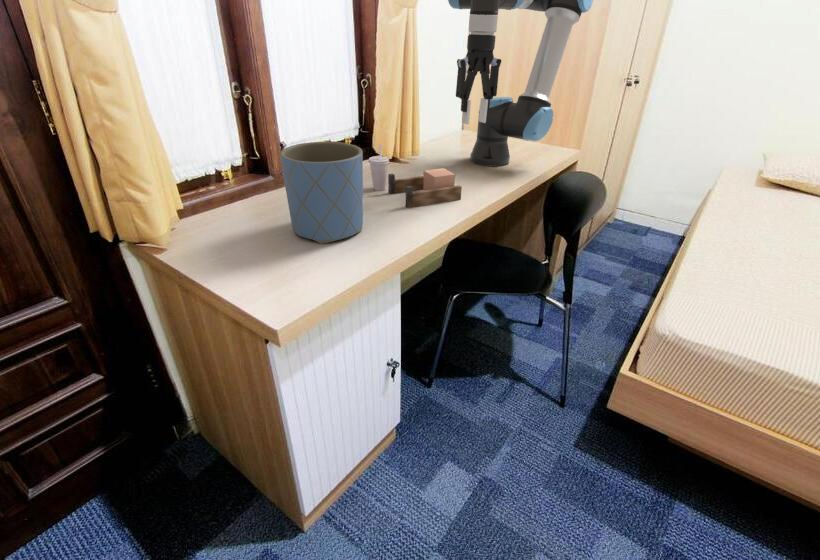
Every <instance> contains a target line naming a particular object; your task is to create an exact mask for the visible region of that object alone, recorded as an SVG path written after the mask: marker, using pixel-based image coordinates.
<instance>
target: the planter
mask: <svg viewBox="0 0 820 560" xmlns="http://www.w3.org/2000/svg"><path fill="white" fill-rule="evenodd" d="M363 153H364V151H363V149H362V148H361V147H360V146H357V145H355V144H351V143H347V142H340V141H339V142H338V141H311V142H304V143H299V144H298V143H297V144H294V145H293V144H292V145H290V146H287V147H285V148H283V149H281V151H280V152H279V158H280V164H281V170H282V176H283V181H284V189H285V194H286V200H287V204H288V211H289V216H290V222H291V227H292V230H293V232H294V233H295V235H298V236H300V237H301V238H305V239H309V240H313V241H315V242H317V243H318V244H320V245H324V244H327V243H331V242H335V241H338V240H339V241H340V240H344V239H347V238H349V237H351V236H354V235H356V234H358V233H360V232H361V231H362V230H363V219H364V212H363V211H364V209H363V207H364V206H363V204H364V203H363V202H364V201H363V198H364V197H363V195H364V194H363V193H364V192H363V191H364V189H363V188H364V185H363V184H364V175H363V174H364V172H363V170H364V169H363V166H364V165H363V164H364V163H363V160H364V159H363V157H364V156H363Z"/></svg>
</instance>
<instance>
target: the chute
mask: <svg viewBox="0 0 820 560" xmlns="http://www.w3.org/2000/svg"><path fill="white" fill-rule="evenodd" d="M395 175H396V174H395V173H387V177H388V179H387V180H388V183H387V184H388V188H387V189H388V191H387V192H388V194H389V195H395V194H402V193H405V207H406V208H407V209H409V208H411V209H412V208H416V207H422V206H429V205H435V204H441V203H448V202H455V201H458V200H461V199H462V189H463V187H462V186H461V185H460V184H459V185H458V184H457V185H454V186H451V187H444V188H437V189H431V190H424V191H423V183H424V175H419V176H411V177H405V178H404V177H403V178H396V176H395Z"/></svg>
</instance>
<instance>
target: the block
mask: <svg viewBox="0 0 820 560" xmlns="http://www.w3.org/2000/svg"><path fill="white" fill-rule="evenodd" d="M423 176H424V183H423V190H422V191H424V190H431V189H437V188H444V187H451V186H455V179H456V174H455V173H454V172H452V171H450V170H448V169H446V168H444V167H441V168H433V169H426V170H423Z"/></svg>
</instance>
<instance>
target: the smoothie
mask: <svg viewBox="0 0 820 560" xmlns="http://www.w3.org/2000/svg"><path fill="white" fill-rule="evenodd" d="M368 163H369V166H370V172H371V178H372V179H371V180H372V187H373V190H374V191H379V192H383V191H385V190H386V185H387V177H388V166H389V163H390V158H389V157H387V156H383V155H382V144H379V155H376V156H374V155H373V156H371V157H369V158H368Z"/></svg>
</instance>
